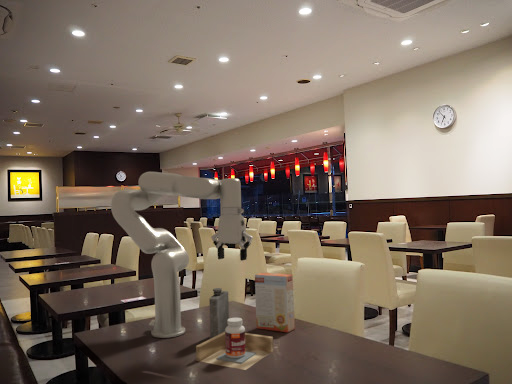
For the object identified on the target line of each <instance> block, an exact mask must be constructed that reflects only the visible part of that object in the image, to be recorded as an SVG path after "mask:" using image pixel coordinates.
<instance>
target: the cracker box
mask: <svg viewBox="0 0 512 384" xmlns="http://www.w3.org/2000/svg"><path fill="white" fill-rule="evenodd" d="M254 284H255V285H254V287H255V289H254V290H255V295H254V296H255V321H256V322H255V323H256V324H255V325H256V329H260V330H266V331H274V332H275V331H276V332H282V333H290V332H292V331H293V330H295V329H296V326H295V325H296V324H295V323H296V322H295V320H296V319H295V300H294V299H295V297H294V274H292V273H290V274H289V273H274V272H260V273H257V274H255V275H254Z"/></svg>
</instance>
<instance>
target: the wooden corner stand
mask: <svg viewBox="0 0 512 384" xmlns="http://www.w3.org/2000/svg"><path fill="white" fill-rule="evenodd" d="M245 351H248V352H254V353H256V355H254V356H253V357H251V358H250V359H248V360H247V361H245V362H244V363H242V364H239V363H234V362H228V361H223V360H217V359H216V358H217V357H219V356H221V355H222V354H224V353H226V345H225V332H223V333H221V334H219V335H217V336H215V337H213V338H211V337H210V338H209V339H207V340H206V341H203V342H201V343H200V344H197V345H196V346H195V358H196V359H195V360H196V362H199V363H206V364H211V365H216V366H222V367H227V368H232V369H237V370H242V371H243V370H244V371H247V370H248V369H250V368H251V367H252V366H254V365H255V364H257V363H258V362H260V361H261V360H262V359H263V358H265V357H267V356H268V355H270V354H271V353H273V352H274V337H273V336H269V335H263V334H256V333H248V332H245Z"/></svg>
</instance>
